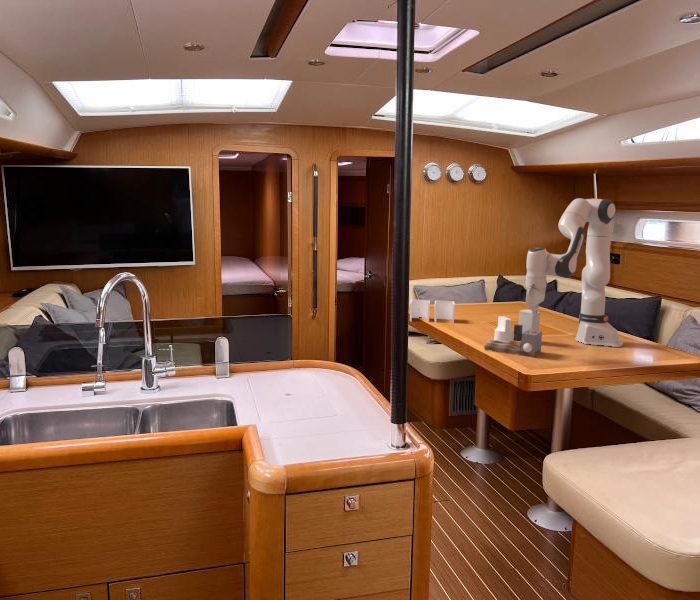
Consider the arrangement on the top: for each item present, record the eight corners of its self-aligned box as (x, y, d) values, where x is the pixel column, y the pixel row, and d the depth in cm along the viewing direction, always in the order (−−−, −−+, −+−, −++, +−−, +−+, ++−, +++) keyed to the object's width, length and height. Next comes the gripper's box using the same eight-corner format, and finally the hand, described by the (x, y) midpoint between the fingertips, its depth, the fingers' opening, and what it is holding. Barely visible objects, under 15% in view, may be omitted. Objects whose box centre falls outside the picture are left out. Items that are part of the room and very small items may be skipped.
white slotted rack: (453, 319, 365) (453, 301, 363) (453, 323, 354) (454, 304, 352) (410, 317, 368) (410, 299, 366) (409, 321, 357) (410, 302, 355)
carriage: (524, 343, 291) (526, 324, 289) (520, 346, 284) (521, 327, 282) (514, 342, 293) (515, 323, 292) (509, 345, 286) (510, 326, 285)
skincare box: (516, 341, 311) (518, 310, 309) (524, 339, 316) (526, 309, 313) (530, 344, 305) (533, 312, 303) (538, 342, 309) (540, 311, 307)
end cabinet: (540, 351, 289) (542, 330, 288) (533, 357, 279) (535, 335, 277) (527, 350, 292) (529, 329, 291) (520, 355, 282) (521, 333, 280)
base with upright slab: (515, 343, 306) (517, 319, 304) (498, 343, 304) (500, 319, 302) (507, 339, 315) (509, 316, 313) (491, 339, 313) (492, 316, 311)
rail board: (540, 351, 289) (541, 345, 289) (533, 357, 279) (534, 350, 279) (492, 345, 301) (492, 338, 300) (484, 349, 291) (484, 343, 290)
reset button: (535, 338, 285) (536, 331, 285) (534, 339, 283) (534, 332, 282) (529, 337, 287) (530, 331, 286) (527, 338, 284) (528, 332, 284)
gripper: (537, 286, 270) (536, 318, 272) (548, 281, 288) (547, 310, 290) (522, 285, 273) (521, 316, 275) (534, 280, 291) (533, 309, 293)
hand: (534, 313), depth 283 cm, fingers closed
